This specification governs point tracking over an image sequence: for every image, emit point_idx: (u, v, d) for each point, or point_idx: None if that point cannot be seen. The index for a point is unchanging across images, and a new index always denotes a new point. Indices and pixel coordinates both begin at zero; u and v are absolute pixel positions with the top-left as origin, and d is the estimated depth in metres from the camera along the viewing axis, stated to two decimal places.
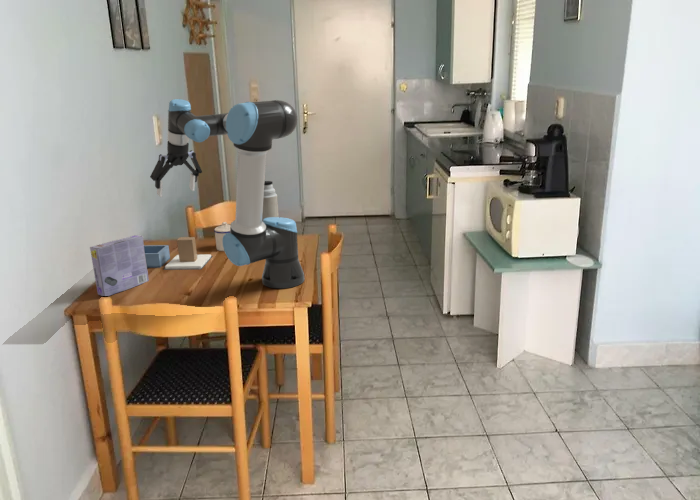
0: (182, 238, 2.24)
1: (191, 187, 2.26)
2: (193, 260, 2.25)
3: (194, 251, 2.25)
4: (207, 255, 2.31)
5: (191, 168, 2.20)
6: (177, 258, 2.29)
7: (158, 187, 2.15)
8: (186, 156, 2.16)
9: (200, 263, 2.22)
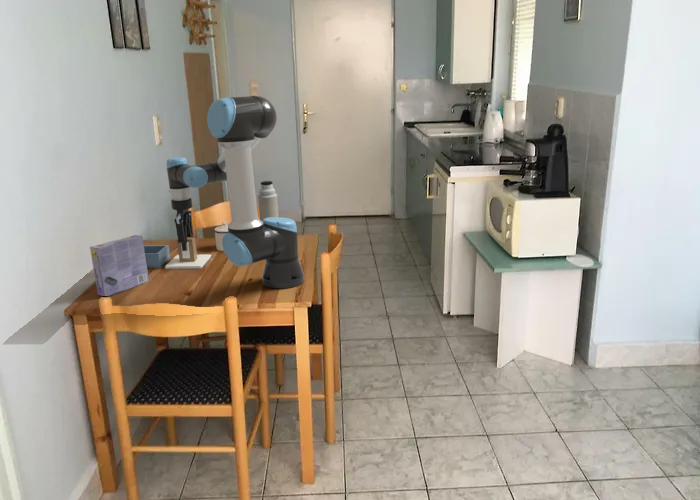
0: None
1: None
2: (193, 260, 2.25)
3: (194, 251, 2.25)
4: (207, 255, 2.31)
5: (189, 228, 2.25)
6: (177, 258, 2.29)
7: (186, 249, 2.22)
8: (188, 211, 2.23)
9: (200, 263, 2.22)
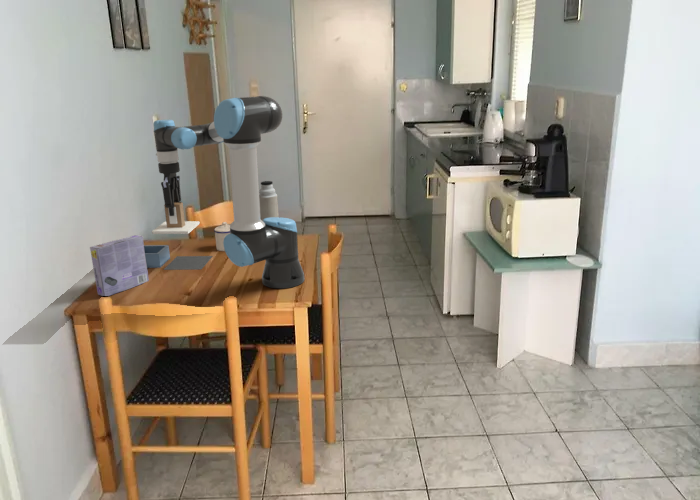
0: None
1: None
2: (181, 226, 2.21)
3: (182, 216, 2.21)
4: (195, 222, 2.28)
5: (177, 193, 2.21)
6: (165, 224, 2.25)
7: (173, 214, 2.18)
8: (175, 175, 2.19)
9: (187, 229, 2.18)
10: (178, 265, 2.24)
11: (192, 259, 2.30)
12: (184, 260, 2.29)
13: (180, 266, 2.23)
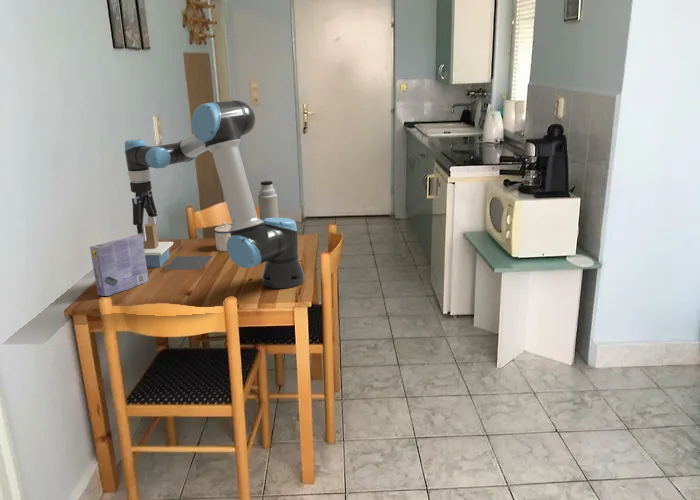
0: None
1: None
2: (154, 247, 2.24)
3: (155, 238, 2.24)
4: (169, 242, 2.31)
5: (151, 208, 2.25)
6: None
7: (142, 231, 2.17)
8: (148, 194, 2.22)
9: (160, 250, 2.21)
10: (178, 265, 2.24)
11: (192, 259, 2.30)
12: (184, 260, 2.29)
13: (180, 266, 2.23)
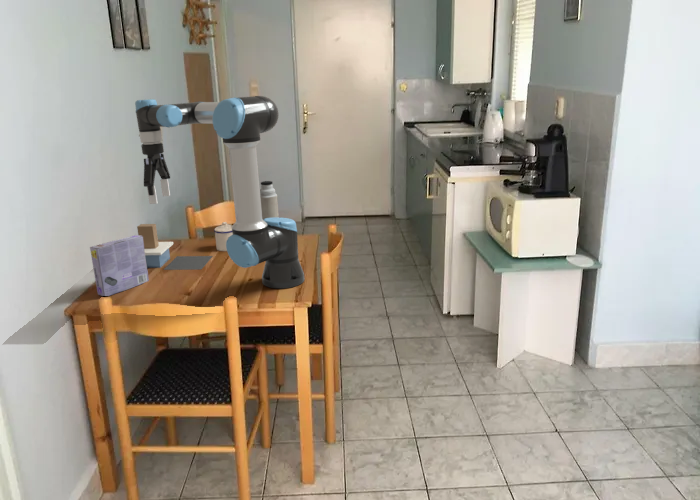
0: (143, 224, 2.23)
1: (166, 193, 2.22)
2: (154, 247, 2.24)
3: (155, 238, 2.24)
4: (169, 242, 2.31)
5: (164, 170, 2.18)
6: None
7: (153, 193, 2.07)
8: (160, 157, 2.14)
9: (160, 250, 2.21)
10: (178, 265, 2.24)
11: (192, 259, 2.30)
12: (184, 260, 2.29)
13: (180, 266, 2.23)
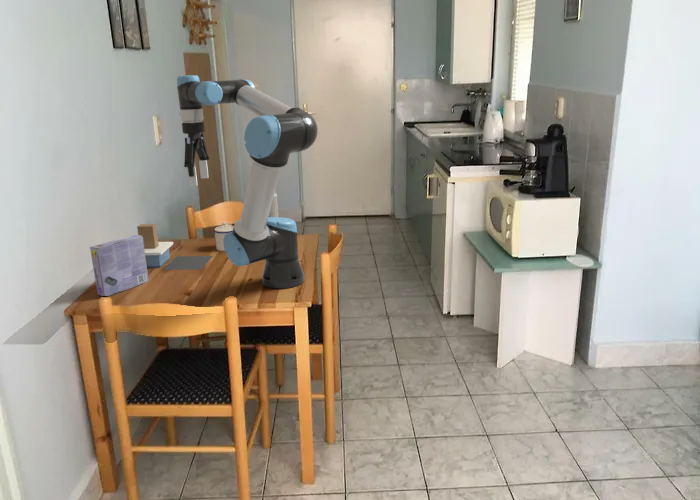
0: (143, 224, 2.23)
1: (204, 175, 2.12)
2: (154, 247, 2.24)
3: (155, 238, 2.24)
4: (169, 242, 2.31)
5: (203, 151, 2.08)
6: None
7: (193, 174, 1.97)
8: (200, 137, 2.04)
9: (160, 250, 2.21)
10: (178, 265, 2.24)
11: (192, 259, 2.30)
12: (184, 260, 2.29)
13: (180, 266, 2.23)
